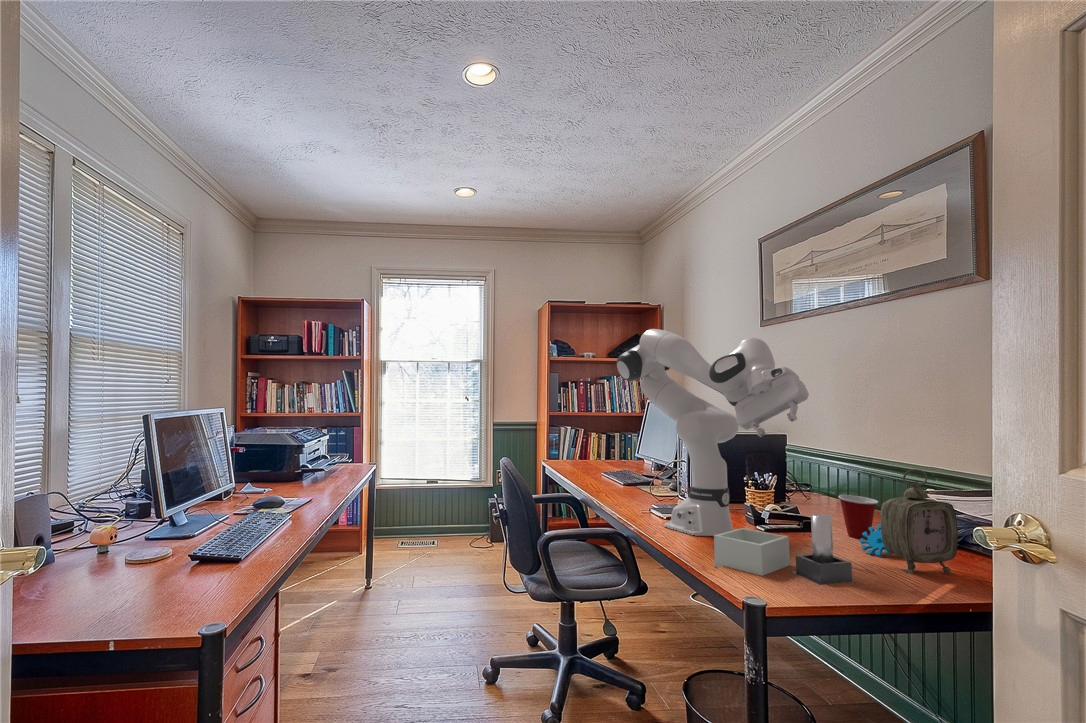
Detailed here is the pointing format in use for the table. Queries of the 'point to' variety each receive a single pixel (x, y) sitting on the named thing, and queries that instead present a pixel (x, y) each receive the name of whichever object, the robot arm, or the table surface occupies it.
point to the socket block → (824, 570)
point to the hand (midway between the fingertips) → (777, 427)
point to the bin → (751, 551)
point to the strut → (822, 538)
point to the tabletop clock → (919, 527)
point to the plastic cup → (857, 514)
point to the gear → (873, 541)
